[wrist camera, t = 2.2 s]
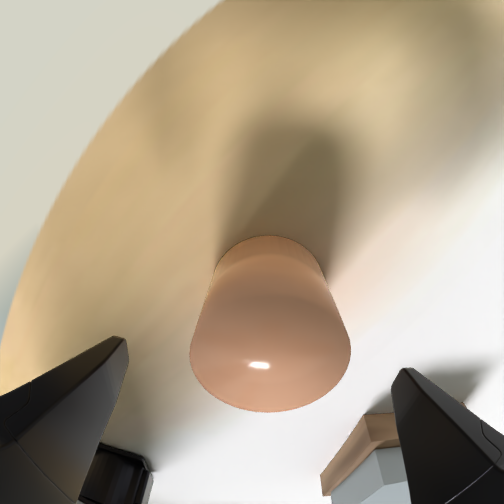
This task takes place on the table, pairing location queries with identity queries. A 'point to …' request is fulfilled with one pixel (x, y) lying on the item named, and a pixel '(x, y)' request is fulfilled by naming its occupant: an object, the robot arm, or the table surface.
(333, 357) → the peach domed cylinder
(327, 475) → the walnut base slab
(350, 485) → the grey top slab
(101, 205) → the table surface
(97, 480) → the robot arm
